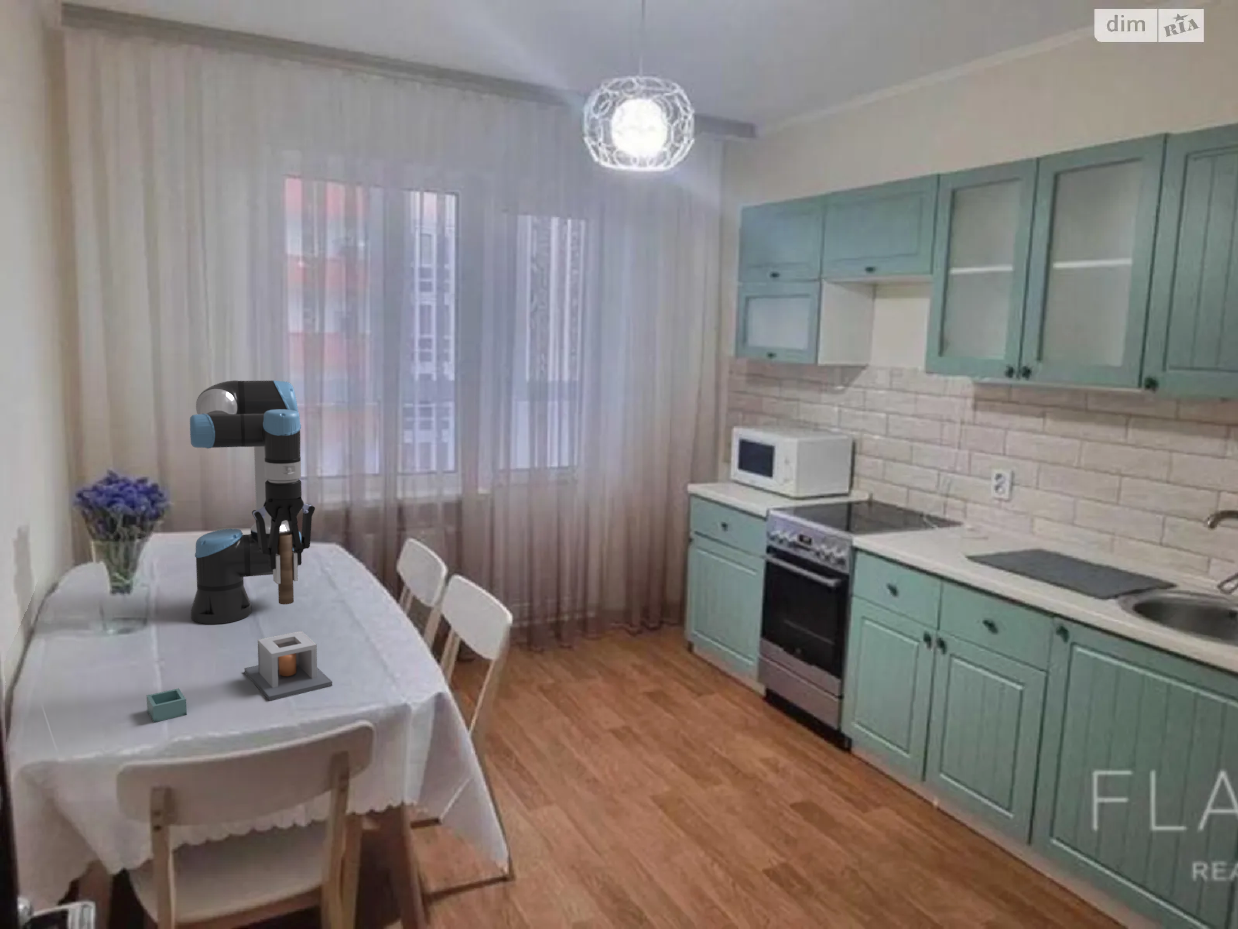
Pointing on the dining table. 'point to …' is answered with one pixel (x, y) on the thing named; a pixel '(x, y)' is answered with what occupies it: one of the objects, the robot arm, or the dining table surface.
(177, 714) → the box
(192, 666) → the dining table surface
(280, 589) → the brown wooden rod
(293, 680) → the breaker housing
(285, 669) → the button
